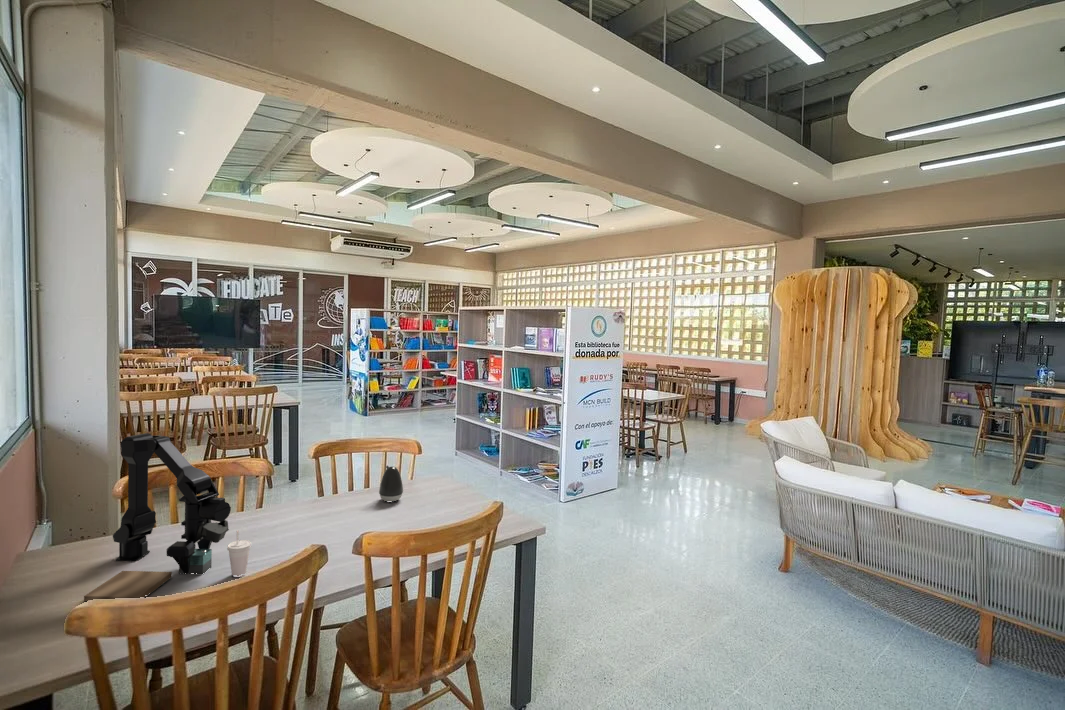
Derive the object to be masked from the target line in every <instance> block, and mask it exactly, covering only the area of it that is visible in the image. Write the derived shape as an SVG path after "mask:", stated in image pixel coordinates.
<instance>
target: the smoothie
mask: <svg viewBox="0 0 1065 710" xmlns="http://www.w3.org/2000/svg"><path fill="white" fill-rule="evenodd" d="M239 535H240V532H239V530H236V540H235V541H231V542H230V543H228V545H227V548H226V549H227V551H228V555H229V556H228V557H229V563H230V564H229V565H230V570H231V572H230V573H231V576H232V575H237V576H239V575H241V574H245V573H246V574H247V569H248V562H249V557H250V550H251V549H250V548H251V547H252V542H251V541H250V540H248V539H239V538H240V537H239ZM245 576H246V575H242V576H240V578H243V577H245Z"/></svg>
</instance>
